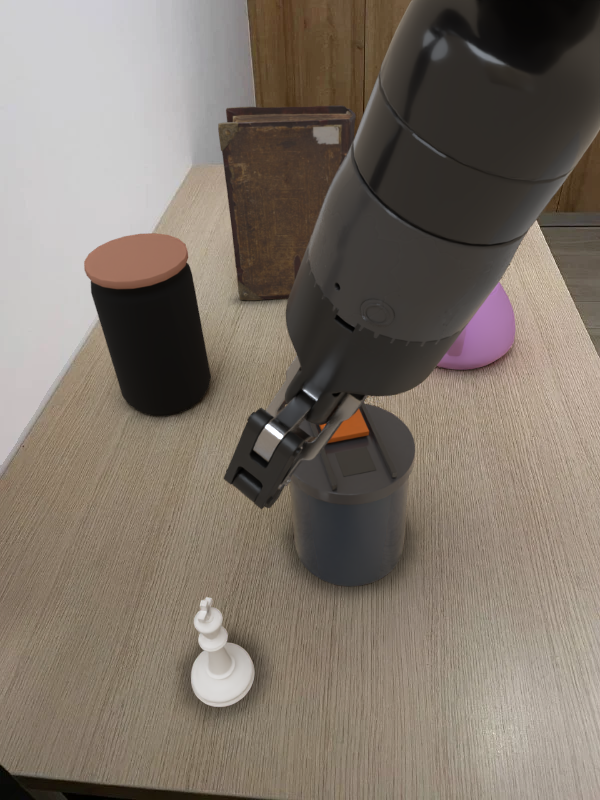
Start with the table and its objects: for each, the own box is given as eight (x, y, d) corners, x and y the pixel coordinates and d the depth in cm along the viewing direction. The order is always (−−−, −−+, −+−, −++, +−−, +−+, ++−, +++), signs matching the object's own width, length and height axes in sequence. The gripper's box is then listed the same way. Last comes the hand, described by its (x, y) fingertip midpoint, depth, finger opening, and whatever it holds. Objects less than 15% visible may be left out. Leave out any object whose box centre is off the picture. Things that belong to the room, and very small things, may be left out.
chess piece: (262, 651, 51) (248, 578, 45) (244, 713, 47) (226, 643, 41) (203, 640, 52) (182, 567, 46) (182, 700, 48) (155, 629, 42)
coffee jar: (180, 354, 83) (151, 223, 72) (230, 389, 77) (208, 253, 65) (107, 391, 78) (64, 257, 66) (155, 433, 72) (116, 293, 60)
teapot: (513, 304, 88) (527, 231, 81) (510, 394, 73) (526, 315, 66) (413, 295, 91) (417, 224, 84) (390, 380, 77) (394, 303, 70)
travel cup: (306, 601, 54) (297, 500, 46) (281, 508, 62) (270, 408, 54) (424, 574, 56) (436, 472, 47) (385, 486, 64) (390, 386, 55)
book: (357, 281, 95) (357, 102, 79) (352, 306, 90) (352, 120, 74) (247, 277, 98) (226, 104, 81) (236, 302, 92) (212, 121, 76)
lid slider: (325, 443, 51) (324, 414, 49) (314, 412, 54) (312, 383, 52) (369, 435, 51) (369, 406, 49) (355, 404, 54) (355, 375, 52)
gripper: (405, 149, 31) (314, 348, 44) (217, 300, 23) (175, 488, 36) (535, 236, 30) (402, 413, 43) (386, 427, 22) (279, 573, 35)
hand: (299, 447), depth 39 cm, fingers open, 8 cm apart
